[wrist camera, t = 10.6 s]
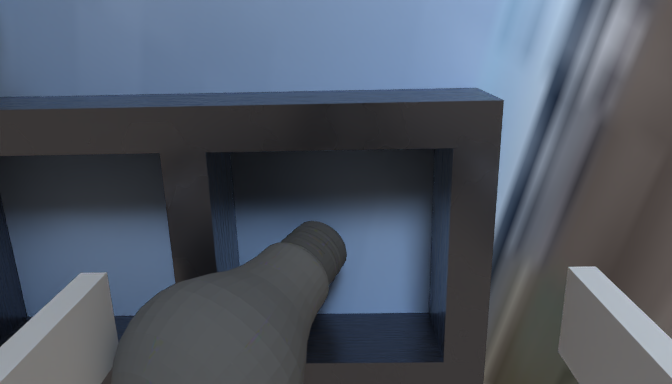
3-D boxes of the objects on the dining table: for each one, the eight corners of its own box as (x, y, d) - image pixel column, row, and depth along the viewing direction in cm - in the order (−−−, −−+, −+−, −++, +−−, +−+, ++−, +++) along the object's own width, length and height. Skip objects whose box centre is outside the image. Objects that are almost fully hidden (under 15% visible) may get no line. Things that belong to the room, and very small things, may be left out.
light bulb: (298, 146, 19) (68, 332, 12) (420, 238, 19) (254, 492, 12) (256, 232, 23) (61, 415, 16) (357, 312, 23) (201, 538, 15)
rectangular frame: (-61, 98, 20) (-140, 112, 17) (477, 87, 20) (503, 100, 16) (0, 347, 24) (-57, 399, 20) (462, 343, 23) (482, 396, 20)
